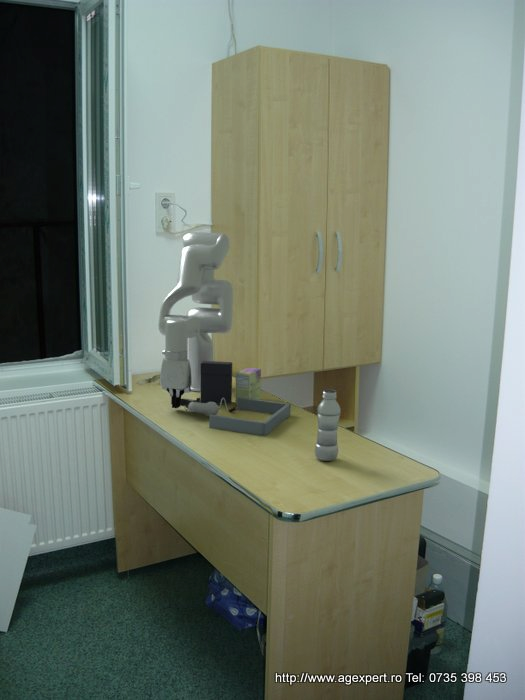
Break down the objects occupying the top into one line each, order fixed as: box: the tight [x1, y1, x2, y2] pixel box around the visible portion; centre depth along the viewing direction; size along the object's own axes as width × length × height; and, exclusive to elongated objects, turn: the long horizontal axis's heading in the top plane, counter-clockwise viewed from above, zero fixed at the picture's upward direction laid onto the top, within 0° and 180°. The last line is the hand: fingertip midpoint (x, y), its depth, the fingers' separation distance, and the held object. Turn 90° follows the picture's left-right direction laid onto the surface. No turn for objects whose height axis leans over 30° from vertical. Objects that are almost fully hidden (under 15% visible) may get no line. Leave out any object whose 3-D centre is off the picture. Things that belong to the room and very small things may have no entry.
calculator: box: [200, 360, 233, 405], centre depth 243 cm, size 11×4×15 cm, turn 84°
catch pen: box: [208, 397, 292, 437], centre depth 224 cm, size 24×19×4 cm
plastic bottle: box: [314, 389, 342, 462], centre depth 189 cm, size 6×7×20 cm
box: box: [234, 367, 262, 405], centre depth 246 cm, size 10×6×12 cm, turn 156°
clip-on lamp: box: [180, 397, 239, 417], centre depth 231 cm, size 12×6×18 cm
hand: (176, 407), depth 234 cm, fingers closed
